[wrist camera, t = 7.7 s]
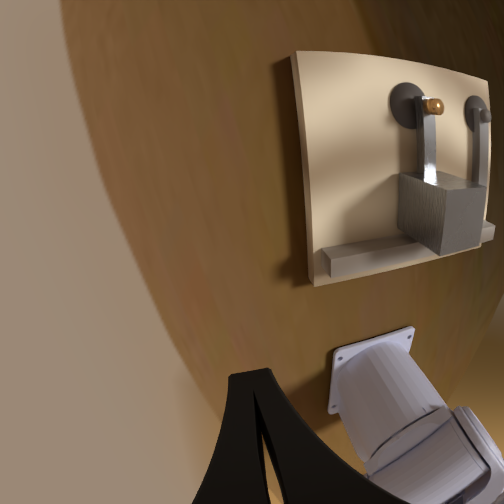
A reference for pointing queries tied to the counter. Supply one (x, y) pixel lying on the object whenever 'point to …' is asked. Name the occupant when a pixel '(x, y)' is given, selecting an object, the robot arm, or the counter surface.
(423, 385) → the robot arm
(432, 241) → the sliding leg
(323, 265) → the bolt board
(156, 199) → the counter surface
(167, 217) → the counter surface
